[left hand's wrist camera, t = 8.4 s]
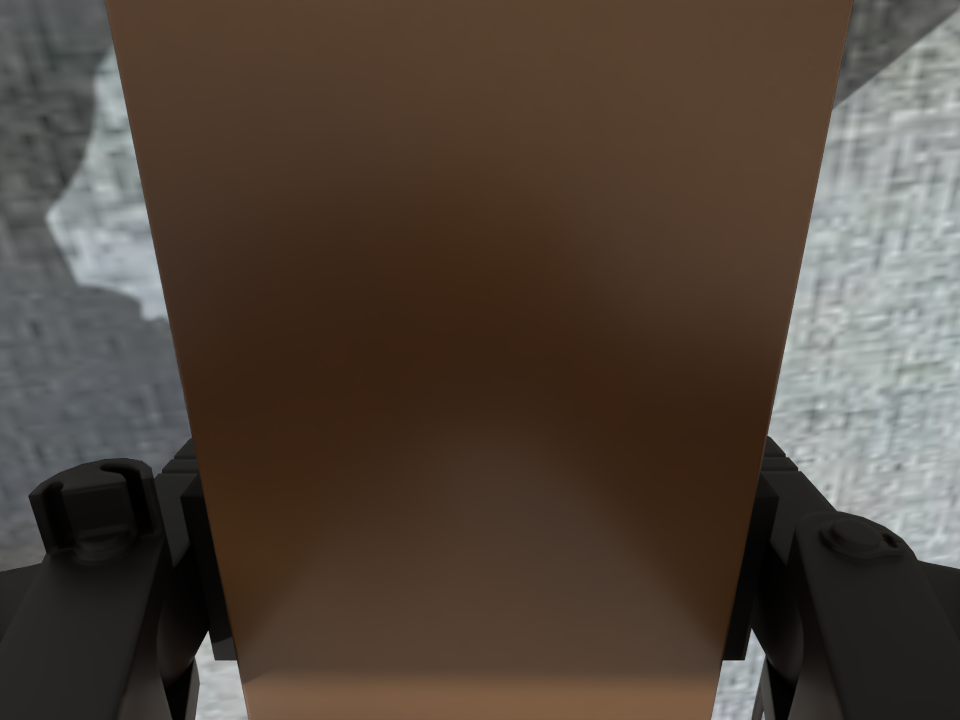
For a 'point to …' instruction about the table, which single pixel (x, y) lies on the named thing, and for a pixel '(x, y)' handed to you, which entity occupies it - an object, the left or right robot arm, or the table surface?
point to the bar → (479, 331)
